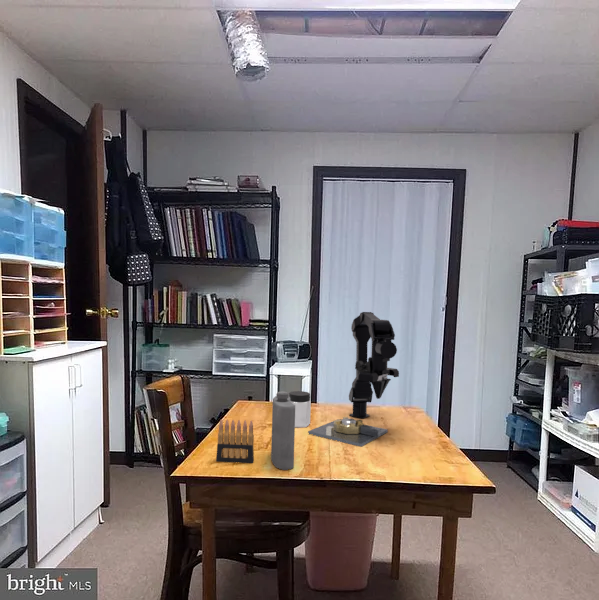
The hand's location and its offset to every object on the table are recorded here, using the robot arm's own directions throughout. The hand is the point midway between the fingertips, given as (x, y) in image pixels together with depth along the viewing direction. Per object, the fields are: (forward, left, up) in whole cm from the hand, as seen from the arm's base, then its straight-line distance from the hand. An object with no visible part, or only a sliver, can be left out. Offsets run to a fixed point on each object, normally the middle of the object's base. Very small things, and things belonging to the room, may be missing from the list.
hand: (378, 398), depth 154 cm
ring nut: (+5, -5, -12) cm, 14 cm away
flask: (+42, -11, -13) cm, 45 cm away
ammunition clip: (+51, -21, -13) cm, 57 cm away
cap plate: (+5, -9, -13) cm, 17 cm away
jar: (+8, -29, -13) cm, 33 cm away
